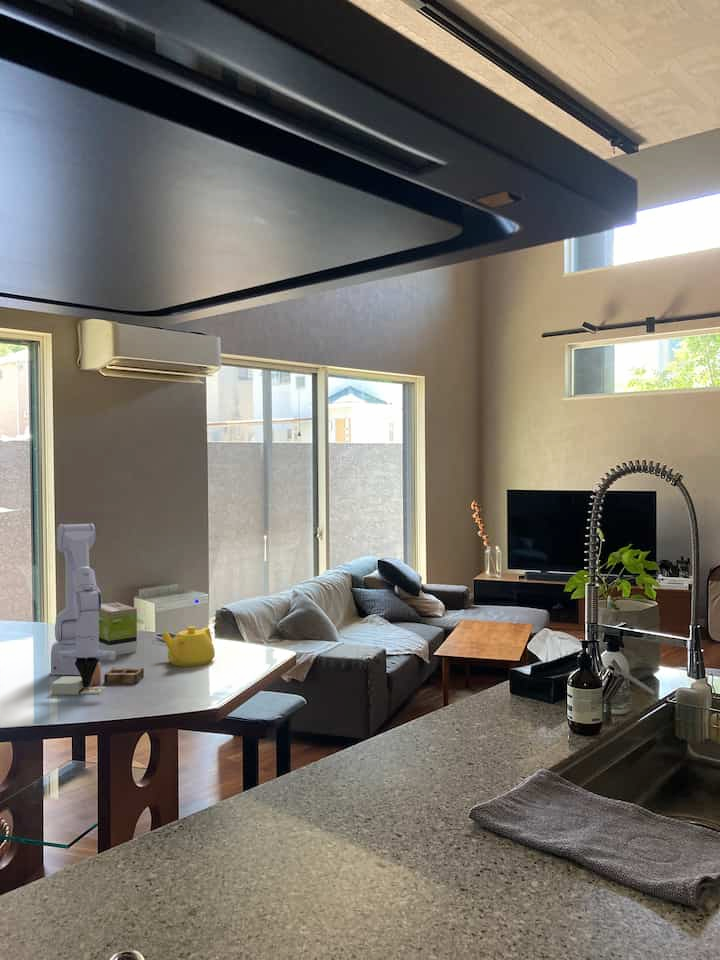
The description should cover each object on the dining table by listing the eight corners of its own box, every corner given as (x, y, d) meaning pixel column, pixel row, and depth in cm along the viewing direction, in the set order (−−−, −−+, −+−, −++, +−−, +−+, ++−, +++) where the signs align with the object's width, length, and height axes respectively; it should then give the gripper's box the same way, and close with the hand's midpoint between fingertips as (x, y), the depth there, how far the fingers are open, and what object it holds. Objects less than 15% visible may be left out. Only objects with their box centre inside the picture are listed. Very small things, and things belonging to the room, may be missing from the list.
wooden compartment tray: (104, 683, 211) (104, 674, 211) (112, 676, 218) (112, 668, 218) (136, 683, 211) (136, 674, 211) (143, 677, 218) (143, 668, 218)
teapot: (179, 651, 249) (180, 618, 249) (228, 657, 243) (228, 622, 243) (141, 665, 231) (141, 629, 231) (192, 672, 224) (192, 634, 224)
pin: (90, 685, 208) (90, 664, 208) (93, 683, 211) (93, 661, 211) (98, 685, 208) (99, 664, 208) (101, 683, 211) (101, 661, 211)
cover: (51, 694, 200) (51, 683, 200) (61, 687, 207) (61, 676, 206) (78, 694, 200) (78, 683, 200) (87, 687, 207) (87, 676, 207)
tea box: (89, 648, 253) (89, 604, 253) (118, 644, 259) (118, 601, 259) (108, 657, 242) (108, 610, 241) (137, 652, 248) (138, 607, 248)
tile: (80, 693, 201) (80, 691, 201) (87, 688, 206) (87, 685, 206) (99, 693, 201) (99, 691, 201) (105, 688, 206) (105, 686, 206)
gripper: (54, 638, 199) (54, 690, 199) (109, 638, 199) (109, 690, 199) (64, 632, 206) (64, 682, 206) (118, 633, 206) (117, 682, 206)
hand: (87, 685), depth 203 cm, fingers closed
